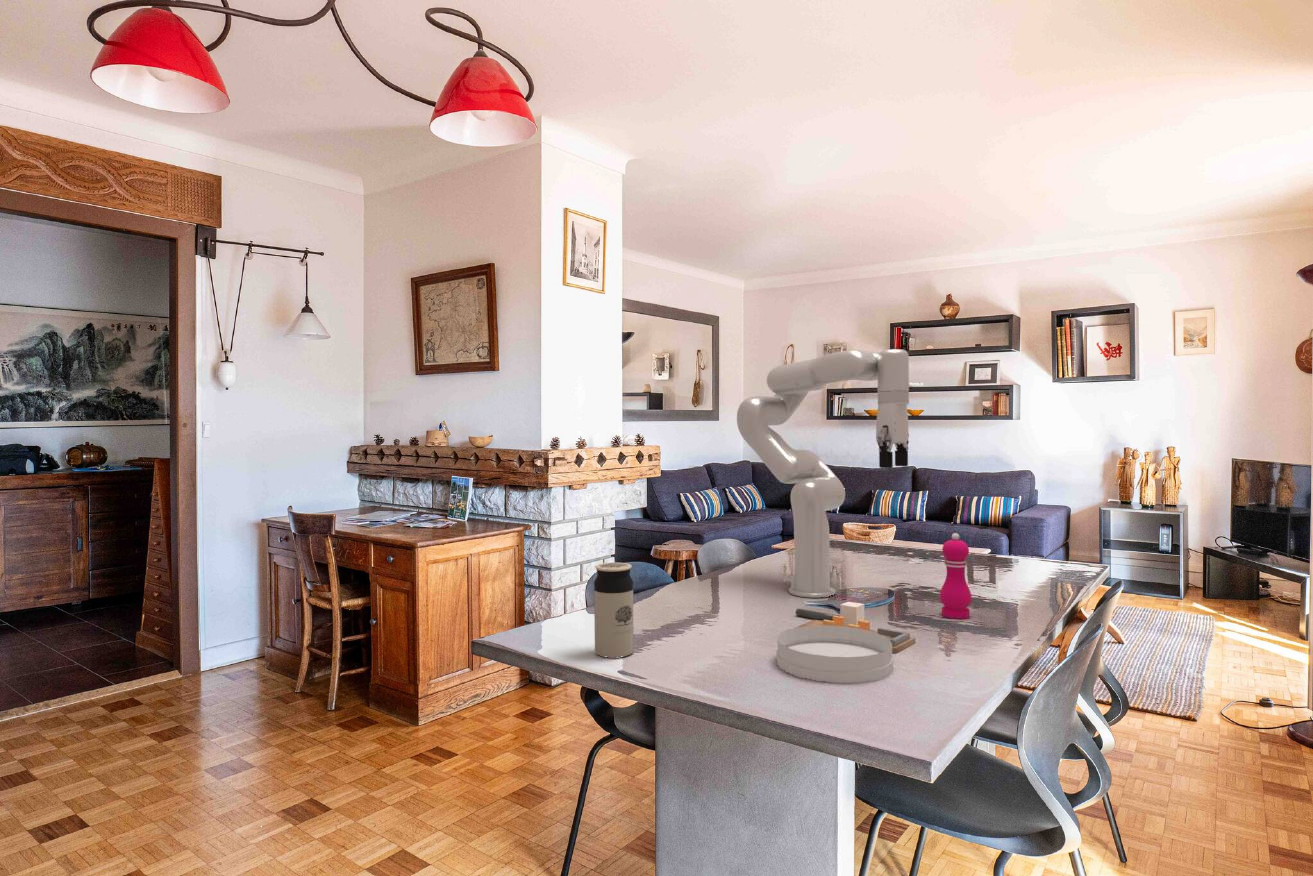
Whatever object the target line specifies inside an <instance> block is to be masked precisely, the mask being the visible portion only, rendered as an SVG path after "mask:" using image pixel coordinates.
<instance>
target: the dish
mask: <svg viewBox="0 0 1313 876" xmlns="http://www.w3.org/2000/svg"><path fill="white" fill-rule="evenodd" d="M796 627H797V628H795V627H793V628H789V629H785V630H784V631H782V632H780V633H779V634H778V635H777V649H776V665H777V666H778V665H779V666H778V668H779V669H780V670H782V669H783V670H782V671H784V670H785V671H784V672H785V673H787V672H789V673H790V675H792V674H794V675H793V676H795V677H798V678H801V679H805V678H807V679H806V680H810V679H812V680H811V681H814V680H816V682H821V681H826V682H825V683H829V682H833V684H860V683H861V682H862V683H867V682H868V681H869V682H875V681H878V680H882V679H884V678H887V677H888V676H890V675H891V674H892V672H893V669H894V658H893V655H892V654H893V653H892V643H891V641H890V640H889V639H888V638H886V637H885V636H883V635H880V634H878V633H875V632H872V631H868V630H864V629H858V628H852V627H844V626H827V625H818V626H804V627H798V626H796ZM841 639H842V640H841ZM789 673H788V674H789ZM835 682H836V683H835ZM855 682H856V683H855ZM869 682H868V683H869ZM862 683H861V684H862Z"/></svg>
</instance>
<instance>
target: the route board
mask: <svg viewBox="0 0 1313 876" xmlns="http://www.w3.org/2000/svg"><path fill="white" fill-rule="evenodd" d="M818 625H823V620H817V619H813V620H810V621H808V622H805V623H803V624H801V625H798V626H795V627H794V628H797V627H804V626H818ZM845 627H848V626H847V625H845ZM870 631H872V632H875V633H878V630H875V629H874V630H873V629H870ZM883 636H885V637H886V638H891V639H893V638H895V637H891V636H886V635H883ZM841 640H842V639H841ZM915 644H916V637H912V636H910V639H908V640H906V641H905V642H903V643H901V644H899V645H897V646H892V654H898V653H900V652H901V651H903V650H905V649H906V648H908V647H910V646H912V645H915Z"/></svg>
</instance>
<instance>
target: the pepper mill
mask: <svg viewBox="0 0 1313 876" xmlns="http://www.w3.org/2000/svg"><path fill="white" fill-rule="evenodd" d="M942 545H943V546H942V550H941V551H942V554H943V556H944V557H945V558H944V560H943V561H944V566H945V567H946V577H945V580H944V583H943V584H942V587H941V589H940V591H939V600H940V602H941V603H942V604H943V606H942V607H941V615H942V616H943V617H945V618H948V619H954V620H955V619H956V620H961V619H962V620H965V619H969V618H970V612H971V611H970V608H968V607H969V606H970V604H971V603H972V600H973V599H972V592H971V590H970V587H969V586H968V584H967V581H966V577H965V576H966V575H965V570H966V569H965V568H967V562H968V561H967V560H966V559H967V557H968V556H969V554H970V549H969V545H968V544H967V543H966V542H964V541H963V540H961V539H960V534H959V533H952V535H951V539H950V540H949V539H948V540H947V541H945V542H944V543H943V544H942ZM968 617H969V618H968Z"/></svg>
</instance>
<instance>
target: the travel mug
mask: <svg viewBox="0 0 1313 876" xmlns="http://www.w3.org/2000/svg"><path fill="white" fill-rule="evenodd" d="M594 567H595V569H596V575H597V576H596V577H595V579H594V582H593V585H594V587H593V588H594V592H593V593H594V595H593V596H594V597H593V598H594V600H593V601H594V602H593V605H594V609H593V610H594V614H593V616H594V653H595V654H596V655H597V654H598V655H597V656H599V655H600V656H599V657H601V656H607V657H621V656H626V657H628V656H630V655H632V654H633V653H634V645H635V644H634V643H635V641H634V639H635V638H634V637H635V636H634V635H635V634H634V580H633V578H632V576H631V575H630V574H631V569H632V568H633V566H632V565H631V564H630V563H627V562H603V563H598V564H596V565H595V566H594ZM627 655H628V656H627ZM621 658H622V657H621Z"/></svg>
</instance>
